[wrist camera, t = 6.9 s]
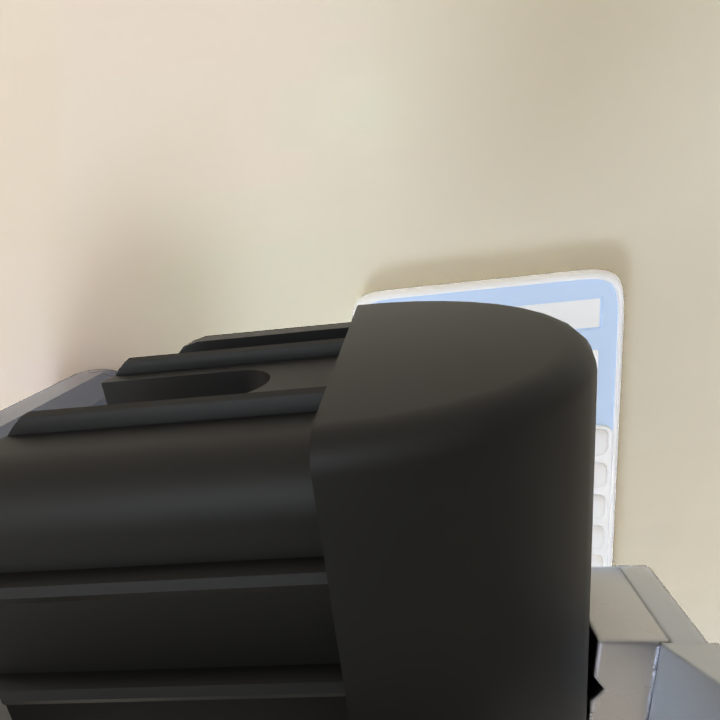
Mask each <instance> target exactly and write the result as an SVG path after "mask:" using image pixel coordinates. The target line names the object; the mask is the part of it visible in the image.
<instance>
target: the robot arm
mask: <svg viewBox="0 0 720 720" xmlns="http://www.w3.org/2000/svg"><path fill="white" fill-rule="evenodd" d="M0 720H12V718H11V716H10V714H9V711H8V709H7V707H6V705H3V704H2V702H1V700H0ZM586 720H720V644H715V643H708V642H707V641H706V639H705V638H704V637H703V635H702V634H701V633H700V631H699V630H698V629H697V628H696V626H695V625H694V624H693V622H692V621H691V620H690V619H689V617H688V616H687V615H686V613H685V612H684V611H683V610H682V608H681V607H680V606H679V604H678V603H677V602H676V600H675V599H674V598H673V597H672V595H671V594H670V593H669V591H668V590H667V589H666V588H665V586H664V585H663V584H662V582H661V581H660V580H659V579H658V577H657V576H656V575H655V573H654V572H653V571H652V570H651V569H650V568H649V567H647V566H646V565H618V566H614V567H613V566H591V589H590V620H589V651H588V682H587V714H586Z"/></svg>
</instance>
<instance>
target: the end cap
mask: <svg viewBox="0 0 720 720" xmlns="http://www.w3.org/2000/svg"><path fill="white" fill-rule="evenodd" d="M597 371H598V370H597V363H596V359H595V357H594V354H593V351H592V348H591V346H590V344H589V342H588V340H587V339H586V338H585V337H583V336H582V335H581V334H580V333H579V332H577V331H576V330H575V329H574V328H573V327H571V326H570V325H569V324H568V323H566V322H563V321H561V320H559V319H556V318H554V317H552V316H549V315H547V314H544V313H540V312H536V311H532V310H528V309H524V308H520V307H514V306H507V305H500V304H492V303H480V302H463V301H409V302H389V303H376V304H364V305H357V308H356V311H355V313H354V316H353V319H352V321H351V322H347V323H337V324H327V325H316V326H306V327H296V328H285V329H275V330H264V331H254V332H244V333H233V334H223V335H212V336H205V337H202V338H200V339H197V340H194V341H192V342H191V343H189V344H188V345H186V346H184V347H183V349H182V350H181V351H180V353H178V354H168V355H157V356H146V357H136V358H129V359H128V360H127V361H126V362H125V363H124V364H123V365H122V366H121V368H120V369H119V370H118V372H117V374H116V375H114V376H112V377H111V378H109V379H107V380H105V381H104V382H102V383H101V384H102V388H103V391H104V395H105V398H106V402H107V405H99V406H87V407H76V408H64V409H52V410H40V411H29V412H27V413H25V414H24V415H23V416H22V417H20V418H19V420H18V421H17V422H16V423H15V425H14V426H13V427H12V429H11V431H10V432H9V434H8V435H7V436H5V437H4V438H2V439H0V700H1V702H2V704H3V705H6V707H7V709H8V711H9V714H10V716H11V718H12V720H586V714H587V682H588V651H589V620H590V589H591V558H592V527H593V496H594V465H595V433H596V402H597Z"/></svg>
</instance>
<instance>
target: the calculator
mask: <svg viewBox="0 0 720 720" xmlns="http://www.w3.org/2000/svg"><path fill="white" fill-rule="evenodd" d="M409 301H463V302H480V303H492V304H500V305H507V306H514V307H520V308H524V309H528V310H532V311H536V312H540V313H544V314H547V315H549V316H552V317H554V318H556V319H559V320H561V321H563V322H566V323H568V324H569V325H570V326H571V327H573V328H574V329H575V330H576V331H577V332H579V333H580V334H581V335H582V336H583V337H585V338H586V339H587V340H588V342H589V344H590V346H591V348H592V351H593V354H594V357H595V359H596V363H597V370H598V371H597V402H596V433H595V465H594V496H593V527H592V558H591V566H612V558H613V537H614V516H615V495H616V474H617V453H618V432H619V412H620V391H621V370H622V349H623V327H624V293H623V287H622V283H621V281H620V280H619V278H618V276H617V275H615V274H613V273H611V272H609V271H605V270H597V269H592V270H576V271H566V272H556V273H546V274H537V275H527V276H517V277H508V278H498V279H488V280H478V281H469V282H459V283H449V284H440V285H430V286H420V287H411V288H401V289H392V290H384V291H378V292H372V293H369V294H366V295H363V296H362V297H361V298H360V299H358V300H357V302H356V304H355V306H354V309H353V316H354V313H355V311H356V308H357V305H364V304H376V303H389V302H409Z"/></svg>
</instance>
